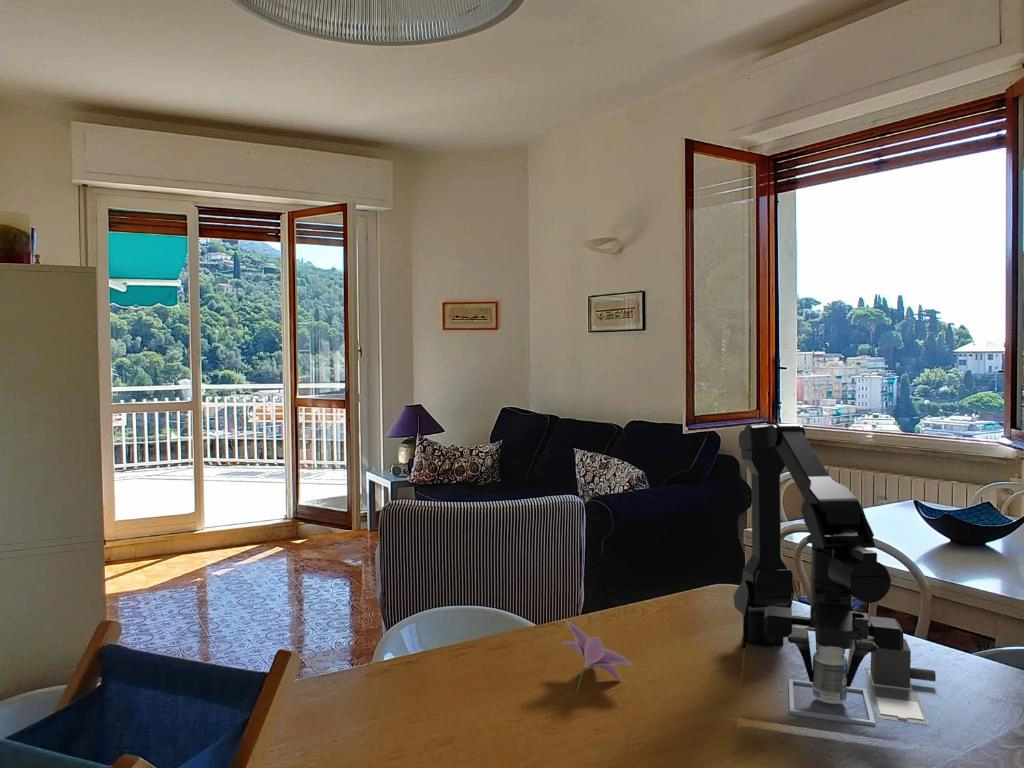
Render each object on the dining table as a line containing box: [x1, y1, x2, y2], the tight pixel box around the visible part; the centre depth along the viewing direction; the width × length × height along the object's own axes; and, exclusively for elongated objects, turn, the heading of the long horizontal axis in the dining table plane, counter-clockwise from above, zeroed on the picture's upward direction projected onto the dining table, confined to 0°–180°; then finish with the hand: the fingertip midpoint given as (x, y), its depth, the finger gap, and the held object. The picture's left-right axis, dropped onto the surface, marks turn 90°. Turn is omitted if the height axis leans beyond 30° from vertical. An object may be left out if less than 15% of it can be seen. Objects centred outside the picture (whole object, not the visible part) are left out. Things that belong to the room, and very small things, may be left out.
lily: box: [562, 620, 633, 692], centre depth 124 cm, size 12×12×10 cm
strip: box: [864, 667, 930, 726], centre depth 118 cm, size 6×18×1 cm, turn 161°
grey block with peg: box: [870, 638, 937, 688], centre depth 122 cm, size 9×5×6 cm, turn 71°
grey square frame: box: [788, 678, 876, 727], centre depth 115 cm, size 11×11×1 cm
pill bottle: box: [811, 642, 848, 705], centre depth 115 cm, size 5×5×8 cm
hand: (829, 683), depth 115 cm, fingers closed on pill bottle, 5 cm apart
